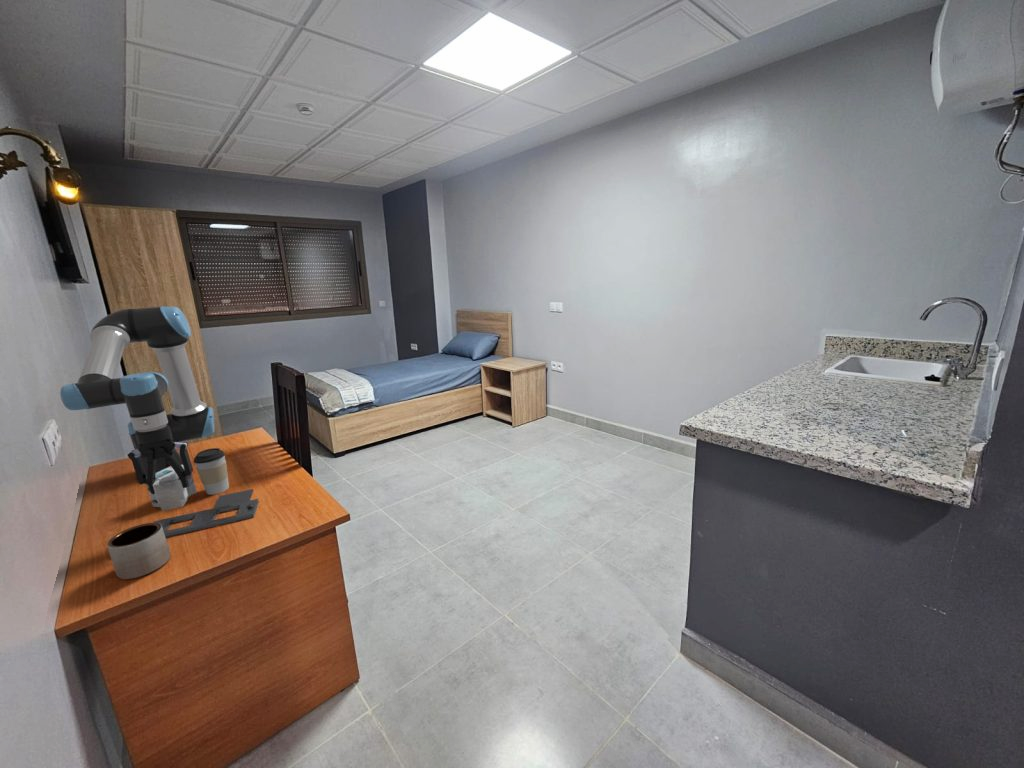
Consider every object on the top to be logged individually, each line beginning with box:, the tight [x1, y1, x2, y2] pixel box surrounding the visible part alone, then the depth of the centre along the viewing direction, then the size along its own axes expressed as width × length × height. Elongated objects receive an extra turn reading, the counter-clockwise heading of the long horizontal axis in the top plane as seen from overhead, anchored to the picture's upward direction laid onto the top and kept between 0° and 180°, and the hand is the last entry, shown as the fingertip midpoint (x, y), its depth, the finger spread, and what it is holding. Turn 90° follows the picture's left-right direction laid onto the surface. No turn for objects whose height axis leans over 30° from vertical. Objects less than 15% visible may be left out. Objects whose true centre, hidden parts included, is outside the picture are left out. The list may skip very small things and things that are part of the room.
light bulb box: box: [146, 465, 198, 508], centre depth 139 cm, size 11×7×11 cm, turn 168°
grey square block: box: [155, 475, 189, 512], centre depth 122 cm, size 5×5×9 cm
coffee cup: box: [193, 447, 230, 496], centre depth 144 cm, size 9×9×15 cm
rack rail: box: [152, 498, 260, 538], centre depth 127 cm, size 10×28×2 cm, turn 114°
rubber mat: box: [213, 488, 254, 508], centre depth 138 cm, size 10×10×1 cm
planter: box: [106, 522, 172, 580], centre depth 106 cm, size 11×11×10 cm
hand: (173, 499), depth 123 cm, fingers closed on grey square block, 5 cm apart
